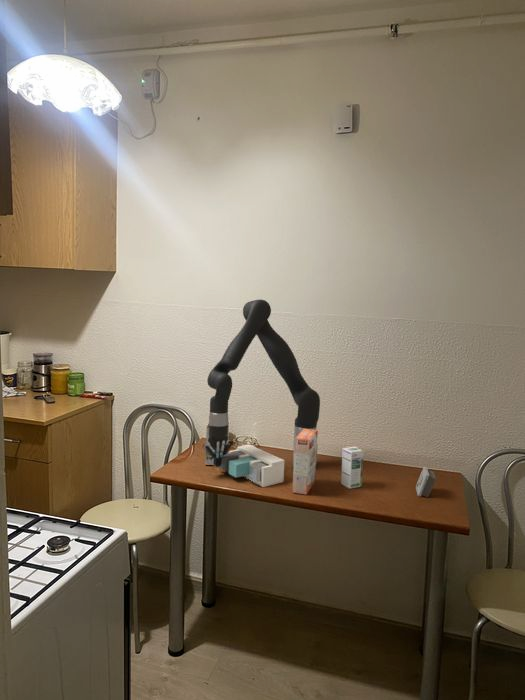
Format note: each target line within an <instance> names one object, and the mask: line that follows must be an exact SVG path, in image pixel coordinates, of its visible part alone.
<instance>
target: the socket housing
mask: <svg viewBox="0 0 525 700" xmlns="http://www.w3.org/2000/svg"><path fill="white" fill-rule="evenodd" d="M236 447H237V448H236V449H234V450H228V454H229V453H234V452H239V451H240V452H242V453H244V454H245V455H240V456H239V459H241V458H246V457H252V458H254V459H256V460H253V461H250V465H251V464H255V463H260V462H264V463H266V464H269V466H264V467H262V469H261V481H258V482H256V481H254V480H252V479H250V478H248V475H245V476H244V477H243V478H245V477H246V478H245V479H246V480H248V479H249V481H250V480H251V481H250V482H252V481H253V483H254V484H256V485H258V486H260V487H262V488H265V487H269V486H273V485H276V484H280V483H284V481H285V479H284V475H285V459H283V458H280V457H279V456H276V455H273V454H272V453H269V452H268V451H267V452H266V451H264V450H262V449H260V448H258V447H255V446H253V445H251V444H244V445H240V446H239V445H238V446H236Z"/></svg>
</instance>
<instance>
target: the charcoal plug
mask: <svg viewBox="0 0 525 700" xmlns="http://www.w3.org/2000/svg"><path fill="white" fill-rule="evenodd" d="M240 455H245V454H244V453H242V452H240V451H239V452H234V453H229V452H228V453H227V454H226V455H223V456H222V464H221V466H220V467H218V468H219V469H220V470H223V471H224V472H229V461H232V460H236V459H239V456H240Z"/></svg>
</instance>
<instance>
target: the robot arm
mask: <svg viewBox="0 0 525 700" xmlns="http://www.w3.org/2000/svg"><path fill="white" fill-rule="evenodd" d="M271 307H272V306H271V305H270V303H269V302H268V301H266V300H265V299H255V300H250V301H247V302H246V303H245V304H244V306H243V307H242V315H243V318H244V319H245V323H244V325H242V327H241V329H240V331H238V333H237V334H236V335H235V337H234V338H233V339H232V340H231V342H230V343H229V345H228V346H227V348H226V349H225V352H224V354H222V357H221V359H220V360H219V361H218V362H217V363H216V364H215V365H214V367H213V368H212V369H211V371H209V373H208V375H207V382H206V383H207V385H208V386H209V387H210V388H211V389H213V390H215V394H214V396H211V398H210V400H209V415H208V424H209V439H208V443H207V444H206V443H205V444H203V445H202V448H203V449H204V450H205V453H206V452H207V453H208V454H209V455H210V456H212V457H214V465H215V466H214V467H216V468H219V467H220V466H221V464H222V456H223V455H226V454H228V453H229V451H230V449H231V447H232V445H233V444H234V442H233V441H232V440H230V439H229V437H228V434H229V400H230V397H231V394H232V390H233V379H232V377H231V375H229V373H230V372H233V371H236V370H237V369H238V367H239V365H240V364H241V361H242V360H243V358H244V356H245V354H246V352H247V350H248V348H249V346H250V345H251V343H252V342H253V340H254V339H255V338H256V337H258V339H259V342H260V343H261V346H262V347H263V349H264V350H265V352H266V354H267V356H268V358H269V359H270V361H271V362H272V365H273V366H274V367H275V369H276V370H277V372H278V373H279V376H280V377H281V378H282V379H283V381H284V382H285V384H286V385H287V387H288V390H289V392H290V394H291V397H292V398H293V401H294V403H295V404H296V406H297V416H296V417H295V419H294V428H293V429H294V432H293V449H292V451H293V454H292V455H293V456H292V466H293V467H294V455H295V439H296V437H297V436H298V435H299V434H300V432H301V431H302V430H303V429H311V430H317V428H318V427H317V426H318V422H319V418H320V409H321V407H320V406H321V397H320V395H319V393H318V392H317V391H316V390H314V389H312V388H311V386H309V384H308V383H307V381H306V380H305V379H304V377H303V375H302V374H301V370H300V367H299V365H298V361H297V359H296V356H295V353H293V350H292V349H291V347H290V346H289V344H288V343H287V341H286V340H285V339H284V338H283V337H282V336H281V335H280V334H279V333H278V332H277V331H275V330H274V328H273V326H271V324H270V322H269V318H270V317H271V313H272V308H271ZM317 431H318V430H317ZM210 446H211V447H212V450H211V449H210V448H211V447H210ZM212 451H213V452H212ZM317 459H318V448H317V449H316V464H315V467H316V466H317V464H318V463H317V462H318V460H317Z"/></svg>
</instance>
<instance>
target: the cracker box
mask: <svg viewBox="0 0 525 700" xmlns="http://www.w3.org/2000/svg"><path fill="white" fill-rule="evenodd" d="M318 434H319V433H318V430H311V429H303V430H302V431H301V432H300V434H299V435H298V436H297V437H296V439H295V455H294V466H293V475H292V491H291V492H292V494H293V493H295V494H297V495H298V494H299V495H303V496H304V495H306V496H308V493H309V492H310V490H311V488H312V486H313V485H314V483H315V477H316V476H315V475H316V466H315V464H316V449H317V450H318ZM316 465H317V464H316Z"/></svg>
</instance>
